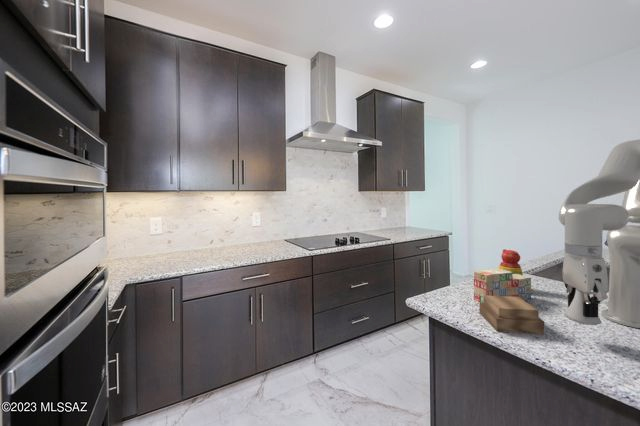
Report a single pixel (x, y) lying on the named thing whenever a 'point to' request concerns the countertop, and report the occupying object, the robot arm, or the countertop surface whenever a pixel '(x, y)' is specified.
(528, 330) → the stepped wooden pedestal
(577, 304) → the flask
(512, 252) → the stacking bear
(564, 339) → the countertop surface
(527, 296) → the stack of blocks
